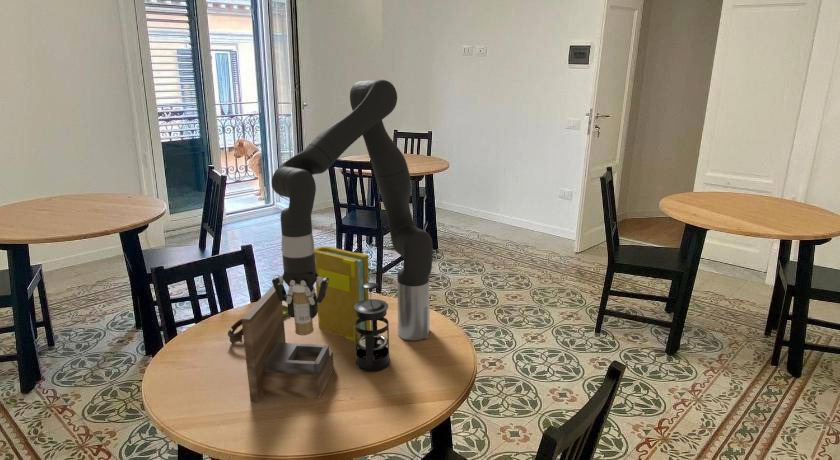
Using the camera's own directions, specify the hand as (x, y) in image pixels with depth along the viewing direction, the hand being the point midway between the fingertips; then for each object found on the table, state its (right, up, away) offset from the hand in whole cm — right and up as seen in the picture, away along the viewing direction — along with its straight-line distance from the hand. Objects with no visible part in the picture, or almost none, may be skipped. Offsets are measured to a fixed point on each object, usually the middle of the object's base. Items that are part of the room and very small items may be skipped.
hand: (303, 316), depth 133 cm
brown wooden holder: (-3, -17, +6) cm, 19 cm away
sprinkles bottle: (0, -4, +1) cm, 4 cm away
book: (+5, -10, +32) cm, 34 cm away
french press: (+16, -15, +13) cm, 26 cm away
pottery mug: (-21, -12, +26) cm, 35 cm away
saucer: (-18, -7, +42) cm, 46 cm away
